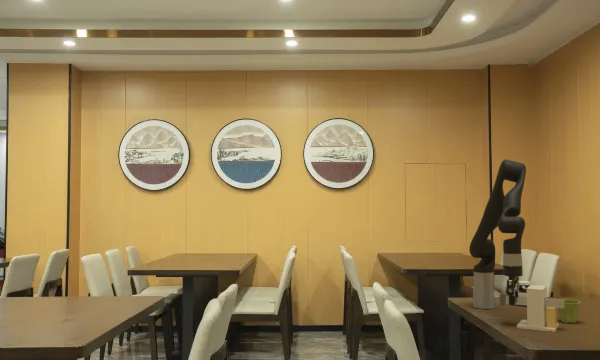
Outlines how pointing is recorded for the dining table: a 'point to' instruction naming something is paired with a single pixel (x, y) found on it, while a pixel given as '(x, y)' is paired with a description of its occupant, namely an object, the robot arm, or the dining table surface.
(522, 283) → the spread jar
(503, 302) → the shaft
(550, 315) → the block
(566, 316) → the plant pot
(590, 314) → the dining table surface
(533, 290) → the bracket
